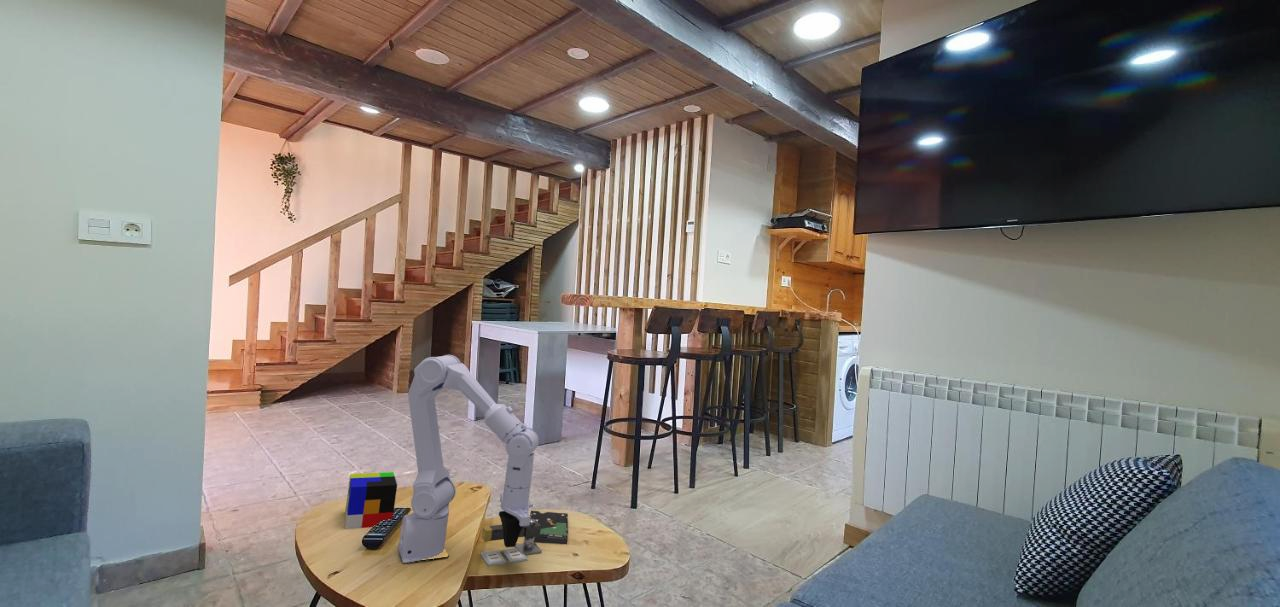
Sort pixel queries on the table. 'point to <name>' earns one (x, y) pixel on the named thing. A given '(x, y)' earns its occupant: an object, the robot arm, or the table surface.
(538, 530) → the swing arm
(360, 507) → the puzzle toy
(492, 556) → the label plate
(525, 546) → the pivot stand
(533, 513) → the disk drive
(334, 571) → the table surface
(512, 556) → the label plate
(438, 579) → the table surface
